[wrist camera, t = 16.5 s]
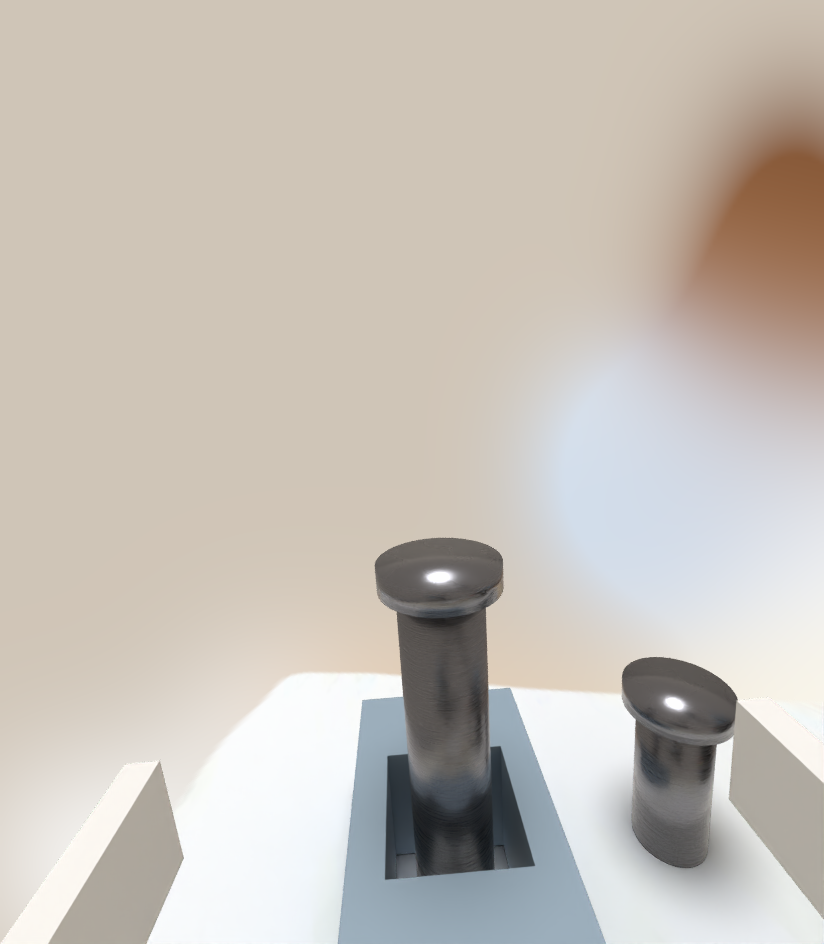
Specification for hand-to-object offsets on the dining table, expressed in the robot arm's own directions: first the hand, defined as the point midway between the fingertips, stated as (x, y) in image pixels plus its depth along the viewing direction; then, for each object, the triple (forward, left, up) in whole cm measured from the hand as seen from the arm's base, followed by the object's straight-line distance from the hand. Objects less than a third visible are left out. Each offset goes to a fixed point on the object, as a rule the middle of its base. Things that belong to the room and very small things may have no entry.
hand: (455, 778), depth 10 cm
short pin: (-1, -19, -19) cm, 27 cm away
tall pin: (+7, -7, -19) cm, 21 cm away
